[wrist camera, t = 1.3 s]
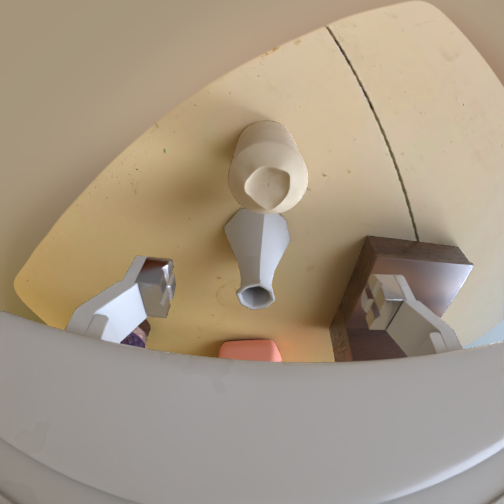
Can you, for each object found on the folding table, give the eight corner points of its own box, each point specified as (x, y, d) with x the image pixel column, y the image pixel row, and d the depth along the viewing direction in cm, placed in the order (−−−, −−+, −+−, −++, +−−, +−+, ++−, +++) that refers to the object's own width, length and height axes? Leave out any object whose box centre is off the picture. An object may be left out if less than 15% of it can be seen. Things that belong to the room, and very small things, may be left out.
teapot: (198, 336, 44) (188, 392, 36) (308, 330, 42) (315, 389, 34) (214, 369, 51) (208, 416, 43) (306, 365, 49) (311, 414, 41)
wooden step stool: (365, 233, 31) (402, 313, 21) (459, 245, 31) (502, 308, 22) (327, 329, 42) (338, 399, 32) (410, 328, 43) (430, 386, 33)
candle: (291, 174, 27) (305, 227, 19) (236, 171, 27) (226, 223, 19) (296, 121, 24) (316, 151, 16) (238, 118, 24) (225, 146, 16)
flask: (212, 224, 31) (196, 287, 23) (268, 192, 28) (271, 251, 20) (248, 266, 35) (244, 332, 27) (300, 241, 32) (311, 306, 24)
